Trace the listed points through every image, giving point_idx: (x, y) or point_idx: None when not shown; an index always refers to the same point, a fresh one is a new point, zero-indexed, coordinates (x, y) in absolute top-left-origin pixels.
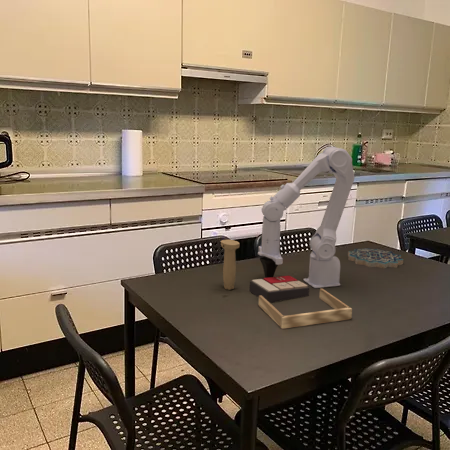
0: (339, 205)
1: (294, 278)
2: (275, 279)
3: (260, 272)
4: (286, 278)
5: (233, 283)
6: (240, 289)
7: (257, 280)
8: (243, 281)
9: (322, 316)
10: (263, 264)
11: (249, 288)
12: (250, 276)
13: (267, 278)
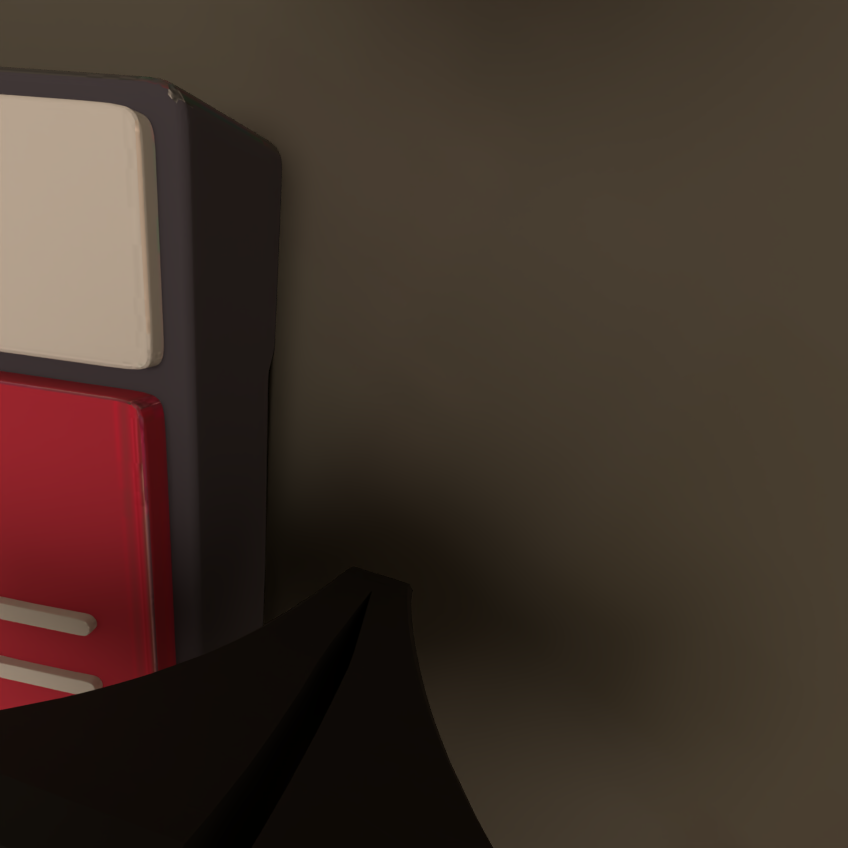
0: None
1: None
2: (25, 552)
3: (814, 779)
4: None
5: None
6: (384, 37)
7: (66, 207)
8: (659, 310)
9: None
10: (316, 747)
11: (248, 129)
12: (775, 552)
13: (99, 462)
